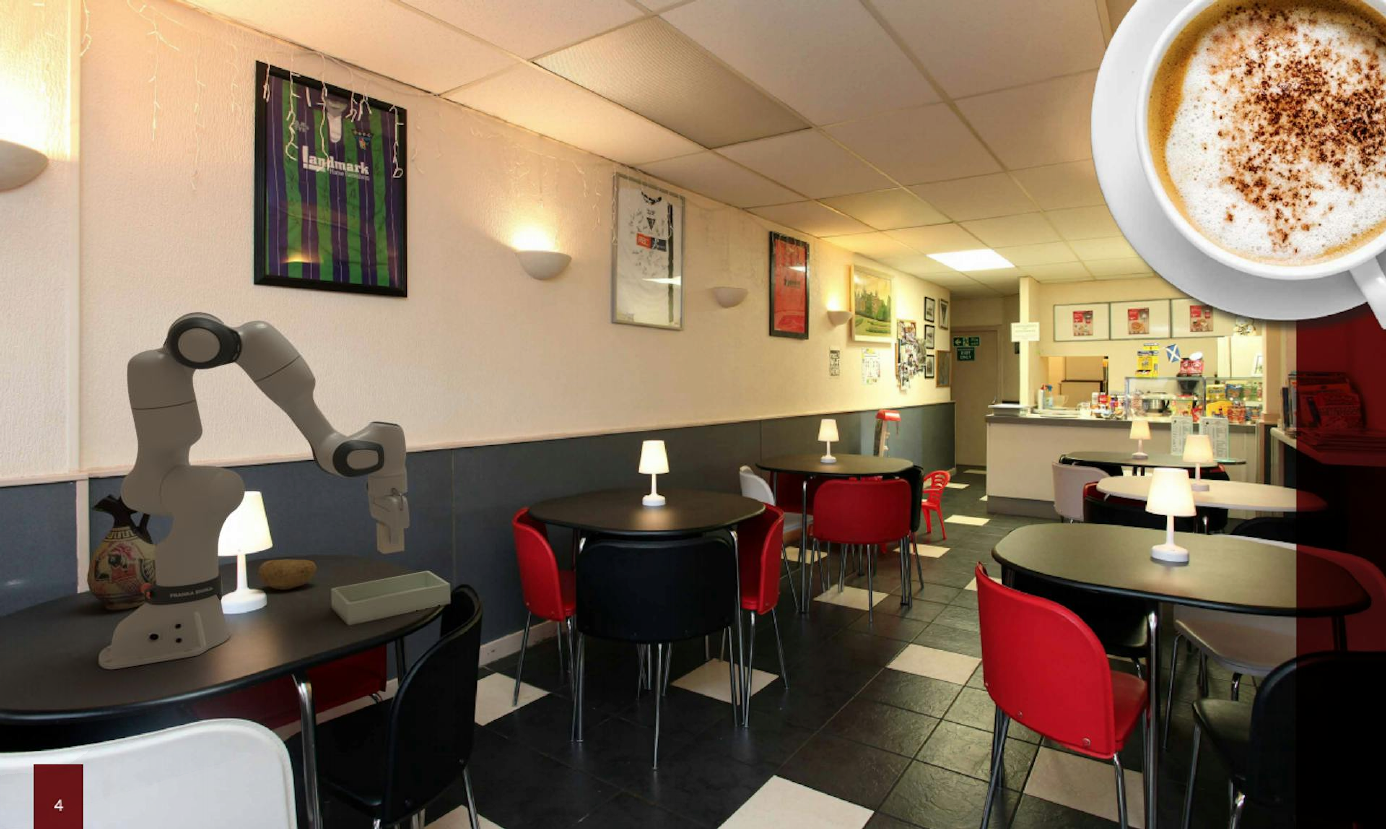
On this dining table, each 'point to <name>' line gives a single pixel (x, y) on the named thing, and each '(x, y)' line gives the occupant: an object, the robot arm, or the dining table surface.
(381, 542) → the carton
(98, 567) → the ceramic jug
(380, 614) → the tote
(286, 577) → the potato
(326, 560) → the dining table surface
